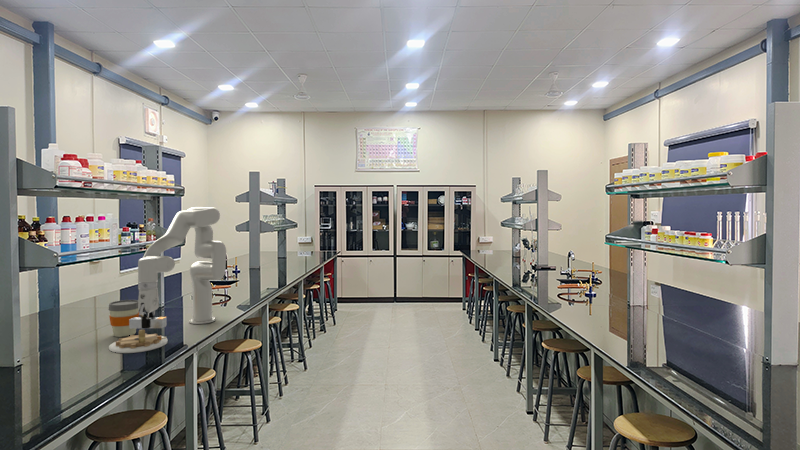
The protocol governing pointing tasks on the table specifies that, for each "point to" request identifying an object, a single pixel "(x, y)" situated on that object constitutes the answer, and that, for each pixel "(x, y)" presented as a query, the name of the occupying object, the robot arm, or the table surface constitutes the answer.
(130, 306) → the reusable coffee cup
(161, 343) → the base plate
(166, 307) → the table surface
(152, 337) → the sprocket wheel
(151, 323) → the white rectangular box
